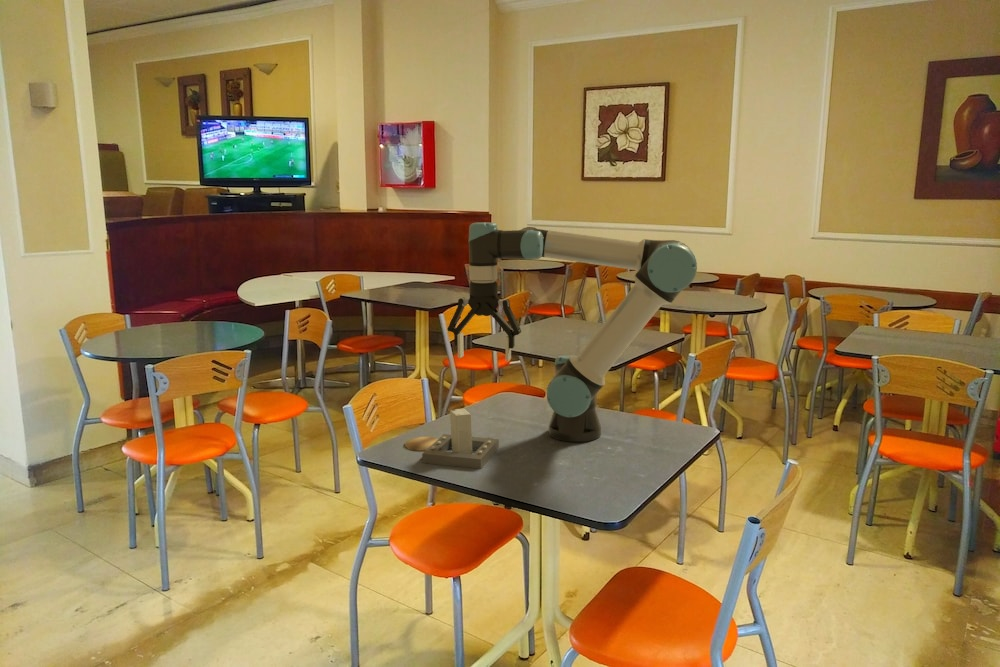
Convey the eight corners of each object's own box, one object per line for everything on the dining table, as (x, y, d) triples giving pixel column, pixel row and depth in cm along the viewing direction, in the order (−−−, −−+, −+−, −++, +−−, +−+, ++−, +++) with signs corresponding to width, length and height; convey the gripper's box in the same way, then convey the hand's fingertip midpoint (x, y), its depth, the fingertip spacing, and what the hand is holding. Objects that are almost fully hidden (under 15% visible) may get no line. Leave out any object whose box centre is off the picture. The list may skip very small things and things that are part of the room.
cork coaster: (446, 440, 211) (446, 438, 210) (433, 452, 201) (433, 450, 201) (413, 437, 213) (413, 435, 213) (399, 449, 204) (399, 446, 204)
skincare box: (473, 457, 197) (472, 414, 194) (457, 460, 195) (456, 415, 193) (466, 450, 202) (465, 407, 200) (450, 452, 201) (449, 409, 199)
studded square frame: (498, 447, 204) (498, 437, 204) (481, 468, 189) (480, 457, 189) (444, 442, 209) (443, 432, 208) (422, 462, 194) (422, 451, 193)
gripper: (532, 280, 198) (532, 358, 202) (444, 278, 205) (446, 352, 209) (525, 284, 191) (525, 364, 195) (434, 281, 198) (436, 358, 202)
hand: (484, 358), depth 202 cm, fingers open, 13 cm apart
